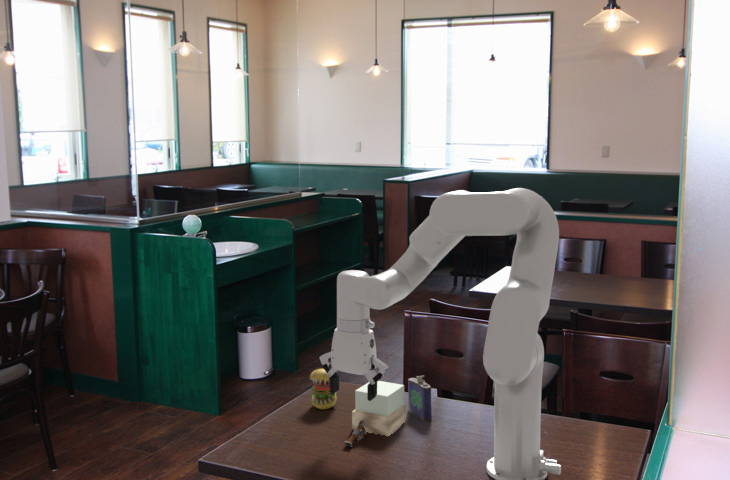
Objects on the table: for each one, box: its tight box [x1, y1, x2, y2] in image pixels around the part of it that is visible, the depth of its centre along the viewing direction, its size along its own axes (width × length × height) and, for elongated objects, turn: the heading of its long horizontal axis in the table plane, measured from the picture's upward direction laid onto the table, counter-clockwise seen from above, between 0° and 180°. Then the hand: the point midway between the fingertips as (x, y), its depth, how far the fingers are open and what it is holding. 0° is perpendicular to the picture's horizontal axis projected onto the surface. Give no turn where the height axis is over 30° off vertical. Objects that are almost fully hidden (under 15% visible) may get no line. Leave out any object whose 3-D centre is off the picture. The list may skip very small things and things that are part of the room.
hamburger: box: [309, 362, 338, 410], centre depth 186 cm, size 8×7×12 cm
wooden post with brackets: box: [343, 420, 368, 448], centre depth 164 cm, size 2×8×4 cm, turn 148°
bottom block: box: [351, 403, 407, 437], centre depth 173 cm, size 10×10×5 cm
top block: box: [354, 380, 405, 416], centre depth 173 cm, size 9×9×5 cm
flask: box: [407, 375, 433, 423], centre depth 179 cm, size 9×3×11 cm, turn 28°
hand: (353, 395), depth 163 cm, fingers open, 9 cm apart
